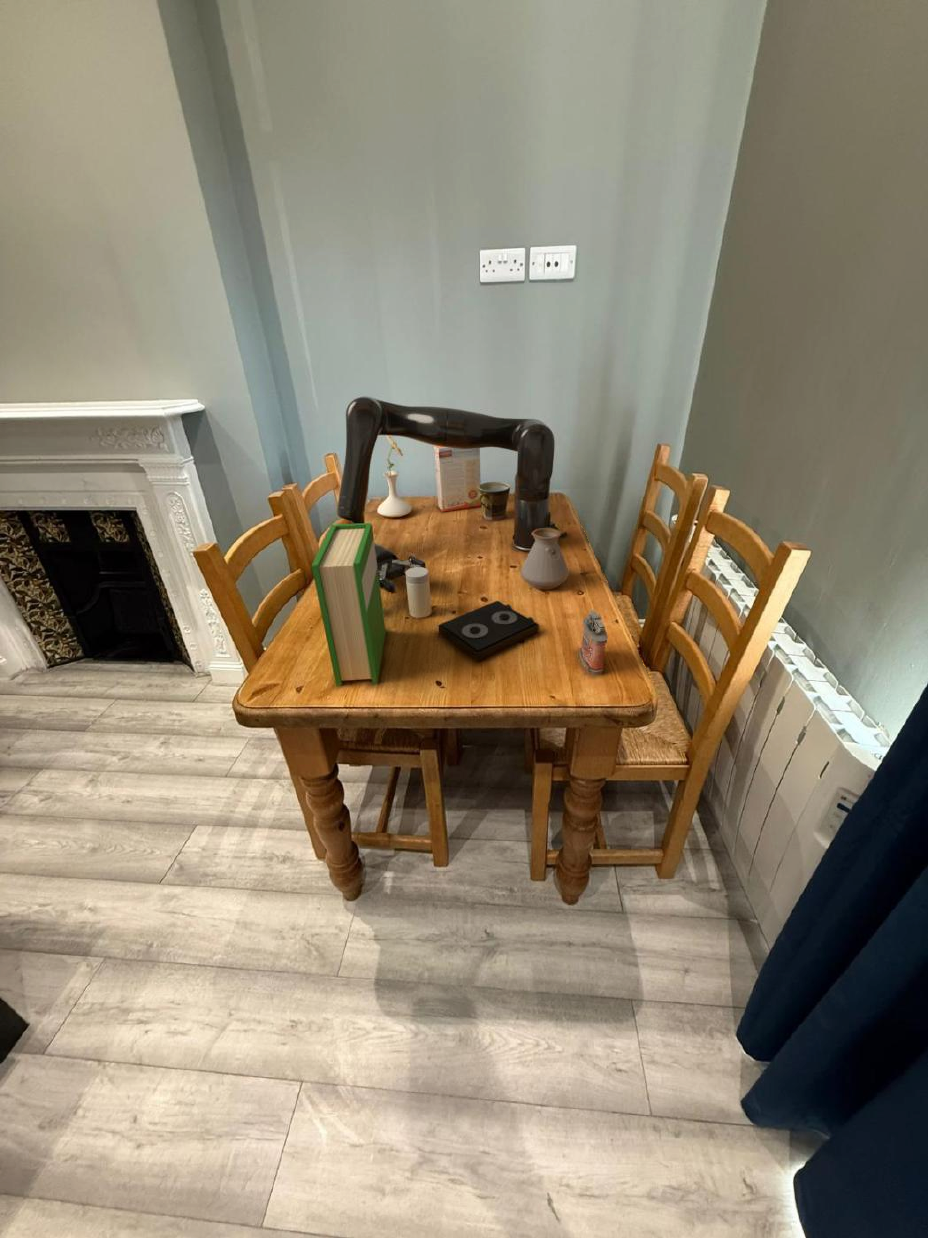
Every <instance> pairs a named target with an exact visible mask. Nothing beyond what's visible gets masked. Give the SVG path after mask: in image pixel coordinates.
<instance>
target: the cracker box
mask: <svg viewBox="0 0 928 1238" xmlns="http://www.w3.org/2000/svg"><path fill="white" fill-rule="evenodd" d="M433 449H434V450H433V451H434V466H435V477H436V481H435V482H436V492H437V507H438V508H439V509H440V510H441V511H442V512H450V511H457V510H462V509H470V508H476V507H477V508H478V507H482V504H481V503H480V501H479V498H480V495H479V489H478V486H479V485H481V484H482V483H481V481H482V480H481V479H482V477H481V448H475V449H456V448H447V447H440V446H435V445H433Z"/></svg>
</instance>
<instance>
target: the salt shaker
mask: <svg viewBox="0 0 928 1238" xmlns="http://www.w3.org/2000/svg"><path fill="white" fill-rule="evenodd" d="M405 573H406V577H405V583H406V584H405V585H406V594H407V605H408V613H409V616H410V617H412V618H416V619H421V618H422V619H423V618H426V617H429V616H430V615H431V614H432V613H433V611H432V599H431V596H432V595H431V585H430V584H431V583H430V574H429V573H430V571H429V569H428V568H423V567H414V568H410V569H408V570H407V569H406V570H405Z"/></svg>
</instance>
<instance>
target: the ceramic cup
mask: <svg viewBox="0 0 928 1238" xmlns="http://www.w3.org/2000/svg"><path fill="white" fill-rule="evenodd" d="M478 489H479V495H480V498H479V501H480V503H481V508H482V514H483V517H484V519H485V520H488V521H500V520H503V519H504V518H505V517H506V512H507V507H508V501H509V497H510V492H511V485H510V484H509V483H506V482H502V481H489V482H483V483H481V485H479V486H478Z"/></svg>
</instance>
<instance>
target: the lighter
mask: <svg viewBox="0 0 928 1238" xmlns="http://www.w3.org/2000/svg"><path fill="white" fill-rule="evenodd" d="M582 627H583V628H582V635H581V644H580V648H579V658H580V661H581V664H582V665H583V667H584V668H585V670H586V671H587V672H588V673H589V674H591V675H593V676H600V675H602V674H603V673H604V658H605V651H606V644H607V643H608V634H607V631H606V626H605V624H604V623H603V621H602V616H601V614H600V613H599V614H598V613H597V611H596V610H589V612H588V616H587V617H584V618H583V619H582Z"/></svg>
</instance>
